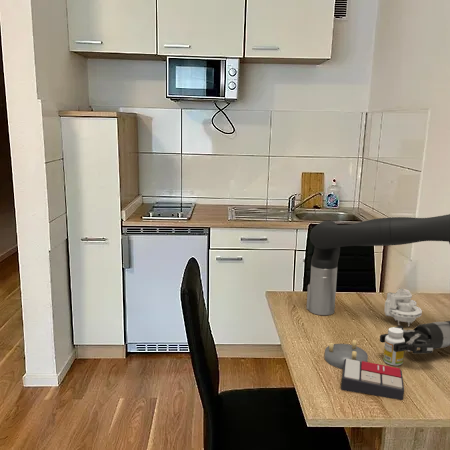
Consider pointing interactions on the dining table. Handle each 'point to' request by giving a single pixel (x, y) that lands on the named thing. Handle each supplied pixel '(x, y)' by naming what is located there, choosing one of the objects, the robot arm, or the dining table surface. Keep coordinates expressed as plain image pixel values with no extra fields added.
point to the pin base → (344, 353)
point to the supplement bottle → (389, 353)
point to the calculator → (372, 379)
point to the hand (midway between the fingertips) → (387, 343)
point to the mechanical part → (402, 306)
